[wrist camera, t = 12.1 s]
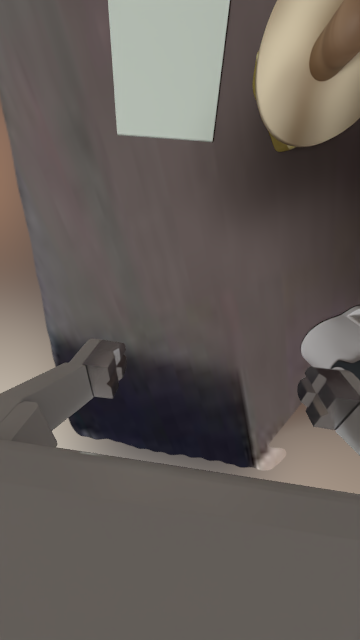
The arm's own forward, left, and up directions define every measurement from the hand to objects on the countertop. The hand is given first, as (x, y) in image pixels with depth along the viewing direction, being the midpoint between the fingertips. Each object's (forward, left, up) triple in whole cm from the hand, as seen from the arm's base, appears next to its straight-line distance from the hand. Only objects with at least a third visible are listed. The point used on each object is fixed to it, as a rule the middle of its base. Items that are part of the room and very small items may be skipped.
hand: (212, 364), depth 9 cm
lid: (-8, -18, -22) cm, 30 cm away
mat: (+8, -20, -31) cm, 38 cm away
